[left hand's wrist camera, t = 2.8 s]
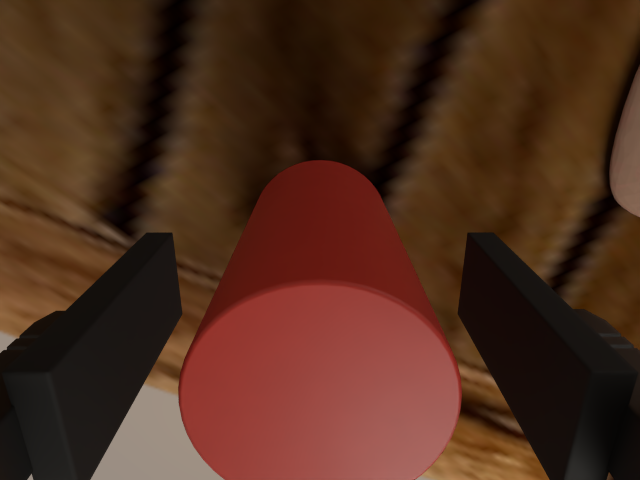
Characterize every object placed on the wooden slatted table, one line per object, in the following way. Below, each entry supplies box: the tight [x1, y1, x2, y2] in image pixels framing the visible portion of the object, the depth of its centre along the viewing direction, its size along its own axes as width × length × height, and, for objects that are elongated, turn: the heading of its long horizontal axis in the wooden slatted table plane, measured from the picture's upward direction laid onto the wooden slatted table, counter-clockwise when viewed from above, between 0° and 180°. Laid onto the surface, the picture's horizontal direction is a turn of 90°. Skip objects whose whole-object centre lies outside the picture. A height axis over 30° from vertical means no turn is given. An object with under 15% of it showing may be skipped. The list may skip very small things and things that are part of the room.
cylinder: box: [178, 160, 462, 480], centre depth 13 cm, size 5×5×10 cm
